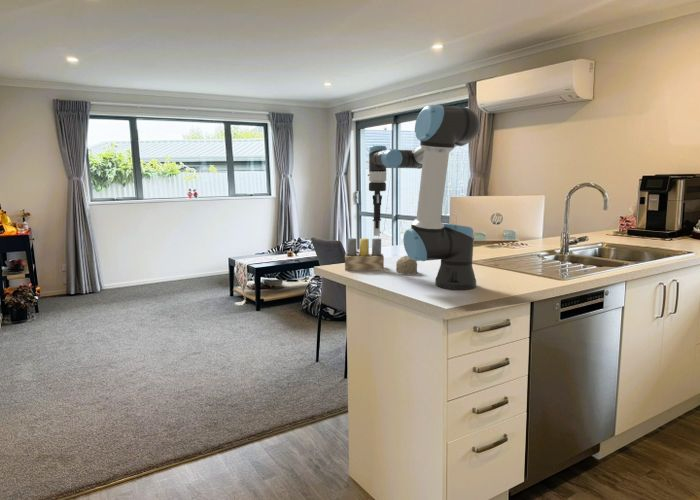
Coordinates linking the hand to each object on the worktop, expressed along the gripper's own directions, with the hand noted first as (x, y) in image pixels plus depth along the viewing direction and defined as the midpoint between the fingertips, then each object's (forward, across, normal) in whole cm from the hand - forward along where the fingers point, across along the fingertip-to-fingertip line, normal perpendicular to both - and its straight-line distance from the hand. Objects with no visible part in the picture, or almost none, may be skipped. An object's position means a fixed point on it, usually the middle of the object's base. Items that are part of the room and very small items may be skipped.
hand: (376, 235), depth 208 cm
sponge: (+15, +8, +13) cm, 21 cm away
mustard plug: (+11, 0, -5) cm, 12 cm away
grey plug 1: (+11, 0, -11) cm, 15 cm away
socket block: (+15, 0, -5) cm, 16 cm away
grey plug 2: (+11, 0, 0) cm, 11 cm away
